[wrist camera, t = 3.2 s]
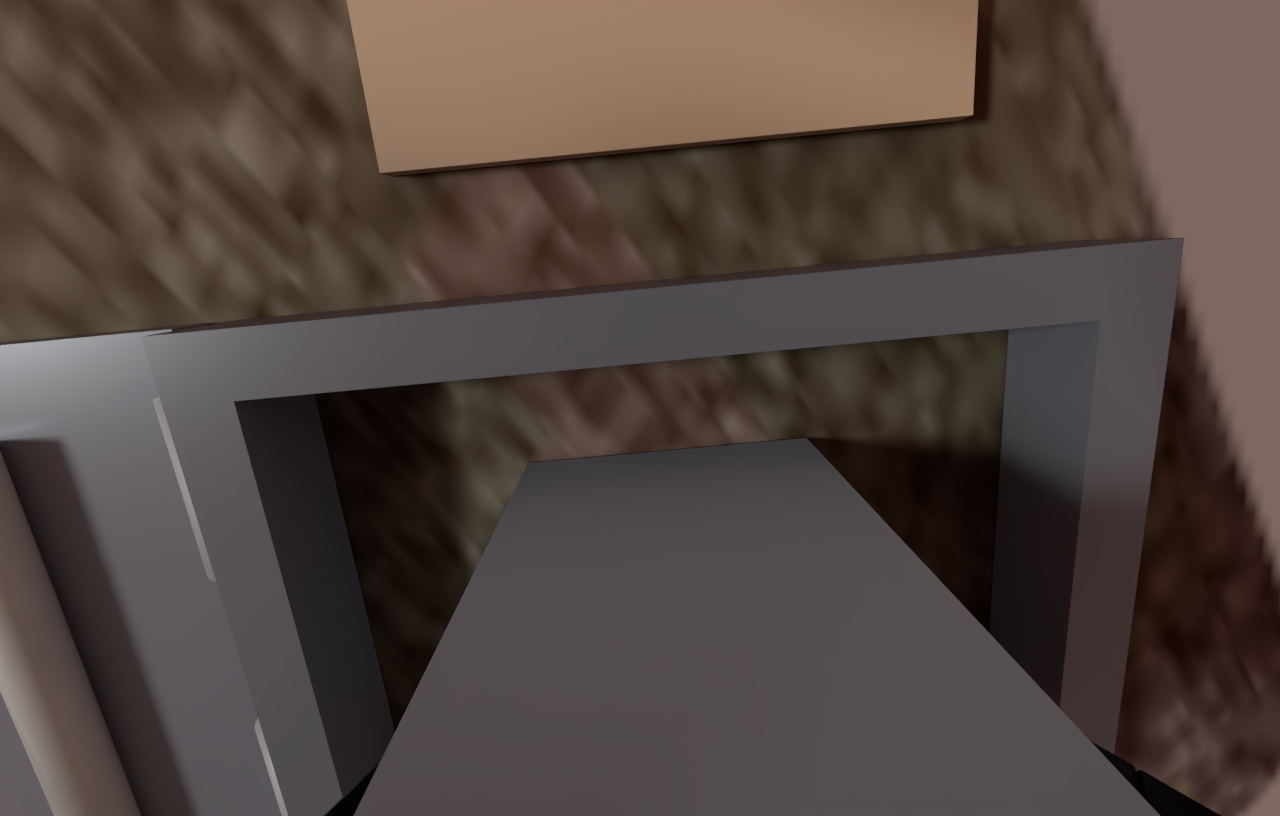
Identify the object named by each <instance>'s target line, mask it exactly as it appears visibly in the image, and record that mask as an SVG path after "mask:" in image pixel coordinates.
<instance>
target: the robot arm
mask: <svg viewBox="0 0 1280 816" xmlns="http://www.w3.org/2000/svg"><path fill="white" fill-rule="evenodd" d="M1091 742H1092V741H1091ZM1092 743H1093V744H1094V745H1095V747H1096V748H1097V749H1098V750H1099V751H1100V752H1101V753H1102V754H1103V755H1104V756H1105V757H1106V758H1107V759H1108V760H1109V762H1110V763H1111V764H1112V765H1113V766H1114V767H1115V768H1116V769H1117V770H1118V771H1119V772H1120V773H1121V774H1122V775H1123V776H1124V778H1125V779H1126V780H1127V781H1128V782H1129V783H1130V784H1131V785H1132V786H1133V787H1134V788H1135V789H1136V790H1137V791H1138V792H1139V794H1140V795H1141V796H1142V797H1143V798H1144V799H1145V800H1146V801H1147V802H1148V803H1149V804H1150V805H1151V806H1152V807H1153V808H1154V810H1155V811H1156V812H1157V813H1158V814H1159V815H1160V816H1221V815H1219V814H1217V813H1216V812H1214V811H1212V810H1210V809H1209V808H1207V807H1205V806H1203V805H1201V804H1200V803H1198V802H1196V801H1194V800H1193V799H1191V798H1189V797H1187V796H1185V795H1184V794H1182V793H1180V792H1178V791H1177V790H1175V789H1173V788H1171V787H1170V786H1168V785H1166V784H1165V783H1163V782H1161V781H1159V780H1158V779H1156V778H1154V777H1153V776H1151V775H1149V774H1147V773H1146V772H1144V771H1142V770H1138V771H1137V772H1136V769H1135V767H1134V766H1133V765H1132V764H1130V763H1128V762H1126V761H1125V760H1123V759H1121V758H1120V757H1118V756H1116V755H1114V754H1113V753H1111V752H1109V751H1108V750H1106V749H1104V748H1102V747H1101V746H1099V745H1097V744H1095V743H1094V742H1092ZM379 763H380V762H379ZM379 763H378V764H377V765H376V766H375V767H374V768H373V769H372V770H371V771H370V772H369V773H368V774H366V775H365V776H364V777H363V778H362V779H361V780H360V781H359V782H358V783H357V784H356V785H355V786H354V787H353V788H352V789H351V790H350V791H349V792H347V793H346V794H345V795H344V796H343V797H342V798H341V799H340V800H339V801H338V802H337V803H336V804H335V805H334V806H333V807H332V808H331V809H330V810H328V811H327V812H326V813H325V814H324V815H323V816H354V814H355V812H356V810H357V808H358V806H359V804H360V802H361V800H362V798H363V796H364V794H365V792H366V790H367V788H368V786H369V784H370V782H371V780H372V777H373V775H374V773H375V771H376V769H377V767H378V765H379Z"/></svg>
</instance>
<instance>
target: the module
mask: <svg viewBox="0 0 1280 816" xmlns="http://www.w3.org/2000/svg"><path fill="white" fill-rule="evenodd" d="M354 816H1160V815H1159V814H1158V813H1157V812H1156V811H1155V810H1154V808H1153V807H1152V806H1151V805H1150V804H1149V803H1148V802H1147V801H1146V800H1145V799H1144V798H1143V797H1142V796H1141V795H1140V794H1139V792H1138V791H1137V790H1136V789H1135V788H1134V787H1133V786H1132V785H1131V784H1130V783H1129V782H1128V781H1127V780H1126V779H1125V778H1124V776H1123V775H1122V774H1121V773H1120V772H1119V771H1118V770H1117V769H1116V768H1115V767H1114V766H1113V765H1112V764H1111V763H1110V762H1109V760H1108V759H1107V758H1106V757H1105V756H1104V755H1103V754H1102V753H1101V752H1100V751H1099V750H1098V749H1097V748H1096V747H1095V745H1094V744H1093V743H1092V742H1091V741H1090V740H1089V739H1088V738H1087V737H1086V736H1085V735H1084V734H1083V733H1082V732H1081V731H1080V729H1079V728H1078V727H1077V726H1076V725H1075V724H1074V723H1073V722H1072V721H1071V720H1070V719H1069V718H1068V717H1067V716H1066V715H1065V713H1064V712H1063V711H1062V710H1061V709H1060V708H1059V707H1058V706H1057V705H1056V704H1055V703H1054V702H1053V701H1052V700H1051V699H1050V697H1049V696H1048V695H1047V694H1046V693H1045V692H1044V691H1043V690H1042V689H1041V688H1040V687H1039V686H1038V685H1037V684H1036V682H1035V681H1034V680H1033V679H1032V678H1031V677H1030V676H1029V675H1028V674H1027V673H1026V672H1025V671H1024V670H1023V669H1022V668H1021V666H1020V665H1019V664H1018V663H1017V662H1016V661H1015V660H1014V659H1013V658H1012V657H1011V656H1010V655H1009V654H1008V653H1007V652H1006V650H1005V649H1004V648H1003V647H1002V646H1001V645H1000V644H999V643H998V642H997V641H996V640H995V639H994V638H993V637H992V636H991V634H990V633H989V632H988V631H987V630H986V629H985V628H984V627H983V626H982V625H981V624H980V623H979V622H978V621H977V619H976V618H975V617H974V616H973V615H972V614H971V613H970V612H969V611H968V610H967V609H966V608H965V607H964V606H963V605H962V603H961V602H960V601H959V600H958V599H957V598H956V597H955V596H954V595H953V594H952V593H951V592H950V591H949V590H948V589H947V587H946V586H945V585H944V584H943V583H942V582H941V581H940V580H939V579H938V578H937V577H936V576H935V575H934V574H933V573H932V571H931V570H930V569H929V568H928V567H927V566H926V565H925V564H924V563H923V562H922V561H921V560H920V559H919V558H918V556H917V555H916V554H915V553H914V552H913V551H912V550H911V549H910V548H909V547H908V546H907V545H906V544H905V543H904V542H903V540H902V539H901V538H900V537H899V536H898V535H897V534H896V533H895V532H894V531H893V530H892V529H891V528H890V527H889V526H888V524H887V523H886V522H885V521H884V520H883V519H882V518H881V517H880V516H879V515H878V514H877V513H876V512H875V511H874V510H873V508H872V507H871V506H870V505H869V504H868V503H867V502H866V501H865V500H864V499H863V498H862V497H861V496H860V495H859V493H858V492H857V491H856V490H855V489H854V488H853V487H852V486H851V485H850V484H849V483H848V482H847V481H846V480H845V479H844V477H843V476H842V475H841V474H840V473H839V472H838V471H837V470H836V469H835V468H834V467H833V466H832V465H831V464H830V463H829V461H828V460H827V459H826V458H825V457H824V456H823V455H822V454H821V453H820V452H819V451H818V450H817V449H816V448H815V447H814V445H813V444H812V443H811V442H810V441H809V440H808V439H807V438H800V439H788V440H777V441H766V442H755V443H744V444H733V445H722V446H711V447H700V448H689V449H678V450H667V451H656V452H645V453H634V454H623V455H612V456H601V457H590V458H579V459H568V460H557V461H546V462H535V463H528V465H527V467H526V469H525V471H524V473H523V475H522V477H521V479H520V481H519V483H518V485H517V487H516V489H515V491H514V493H513V495H512V497H511V499H510V501H509V503H508V505H507V507H506V509H505V511H504V513H503V515H502V517H501V519H500V521H499V523H498V525H497V527H496V529H495V531H494V533H493V535H492V537H491V539H490V541H489V543H488V545H487V547H486V549H485V551H484V553H483V555H482V558H481V560H480V562H479V564H478V566H477V568H476V570H475V572H474V574H473V576H472V578H471V580H470V582H469V584H468V586H467V588H466V590H465V592H464V594H463V596H462V598H461V600H460V602H459V604H458V606H457V608H456V610H455V612H454V614H453V616H452V618H451V620H450V622H449V624H448V626H447V628H446V630H445V632H444V634H443V636H442V638H441V640H440V642H439V644H438V646H437V648H436V650H435V652H434V654H433V656H432V658H431V660H430V662H429V664H428V666H427V669H426V671H425V673H424V675H423V677H422V679H421V681H420V683H419V685H418V687H417V689H416V691H415V693H414V695H413V697H412V699H411V701H410V703H409V705H408V707H407V709H406V711H405V713H404V715H403V717H402V719H401V721H400V723H399V725H398V727H397V729H396V731H395V733H394V735H393V737H392V739H391V741H390V743H389V745H388V747H387V749H386V751H385V753H384V755H383V757H382V759H381V761H380V763H379V765H378V767H377V769H376V771H375V773H374V775H373V777H372V780H371V782H370V784H369V786H368V788H367V790H366V792H365V794H364V796H363V798H362V800H361V802H360V804H359V806H358V808H357V810H356V812H355V814H354Z"/></svg>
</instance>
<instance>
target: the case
mask: <svg viewBox="0 0 1280 816" xmlns="http://www.w3.org/2000/svg"><path fill="white" fill-rule="evenodd" d="M1183 242H1184V238H1156V239H1118V240H1081V241H1066V242H1056V243H1045V244H1035V245H1024V246H1013V247H1003V248H992V249H982V250H971V251H961V252H950V253H940V254H929V255H919V256H908V257H898V258H887V259H877V260H866V261H856V262H845V263H835V264H824V265H813V266H803V267H792V268H782V269H771V270H761V271H750V272H740V273H729V274H719V275H708V276H698V277H687V278H677V279H666V280H656V281H645V282H634V283H624V284H613V285H603V286H592V287H582V288H571V289H561V290H550V291H540V292H529V293H519V294H508V295H498V296H487V297H477V298H466V299H455V300H445V301H434V302H424V303H413V304H403V305H392V306H382V307H371V308H361V309H350V310H340V311H329V312H319V313H308V314H298V315H287V316H276V317H266V318H255V319H245V320H235V321H230V322H224V323H218V324H212V325H208V324H207V323H203V324H192V325H182V326H171V327H161V328H150V329H140V330H129V331H119V332H108V333H97V334H87V335H76V336H66V337H55V338H45V339H34V340H24V341H13V342H3V343H0V816H323V815H324V814H325V813H326V812H327V811H328V810H330V809H331V808H332V807H333V806H334V805H335V804H336V803H337V802H338V801H339V800H340V799H341V798H342V797H343V796H344V795H345V794H346V793H347V792H349V791H350V790H351V789H352V788H353V787H354V786H355V785H356V784H357V783H358V782H359V781H360V780H361V779H362V778H363V777H364V776H365V775H366V774H368V773H369V772H370V771H371V770H372V769H373V768H374V767H375V766H376V765H377V764H378V763H379V762H380V761H381V759H382V757H383V755H384V753H385V751H386V749H387V747H388V745H389V743H390V741H391V739H392V737H393V735H394V733H395V730H394V725H393V721H392V717H391V713H390V709H389V704H388V700H387V696H386V692H385V688H384V684H383V679H382V675H381V671H380V667H379V663H378V658H377V654H376V650H375V646H374V642H373V637H372V633H371V629H370V625H369V621H368V616H367V612H366V608H365V604H364V600H363V595H362V591H361V587H360V583H359V579H358V574H357V570H356V566H355V562H354V558H353V554H352V549H351V545H350V541H349V537H348V533H347V528H346V524H345V520H344V516H343V512H342V507H341V503H340V499H339V495H338V491H337V486H336V482H335V478H334V474H333V470H332V465H331V461H330V457H329V453H328V449H327V444H326V440H325V436H324V432H323V428H322V424H321V419H320V415H319V411H318V407H317V403H316V398H315V394H317V393H328V392H339V391H350V390H360V389H371V388H382V387H392V386H403V385H414V384H425V383H435V382H446V381H457V380H467V379H478V378H489V377H500V376H510V375H521V374H532V373H542V372H553V371H564V370H575V369H585V368H596V367H607V366H617V365H628V364H639V363H650V362H660V361H671V360H682V359H692V358H703V357H714V356H725V355H735V354H746V353H757V352H767V351H778V350H789V349H800V348H810V347H821V346H832V345H842V344H853V343H864V342H875V341H885V340H896V339H907V338H917V337H928V336H939V335H950V334H960V333H971V332H982V331H992V330H1003V329H1009V334H1008V349H1007V364H1006V380H1005V395H1004V410H1003V425H1002V440H1001V456H1000V471H999V486H998V501H997V517H996V532H995V547H994V562H993V577H992V593H991V608H990V623H989V633H990V634H991V636H992V637H993V638H994V639H995V640H996V641H997V642H998V643H999V644H1000V645H1001V646H1002V647H1003V648H1004V649H1005V650H1006V652H1007V653H1008V654H1009V655H1010V656H1011V657H1012V658H1013V659H1014V660H1015V661H1016V662H1017V663H1018V664H1019V665H1020V666H1021V668H1022V669H1023V670H1024V671H1025V672H1026V673H1027V674H1028V675H1029V676H1030V677H1031V678H1032V679H1033V680H1034V681H1035V682H1036V684H1037V685H1038V686H1039V687H1040V688H1041V689H1042V690H1043V691H1044V692H1045V693H1046V694H1047V695H1048V696H1049V697H1050V699H1051V700H1052V701H1053V702H1054V703H1055V704H1056V705H1057V706H1058V707H1059V708H1060V709H1061V710H1062V711H1063V712H1064V713H1065V715H1066V716H1067V717H1068V718H1069V719H1070V720H1071V721H1072V722H1073V723H1074V724H1075V725H1076V726H1077V727H1078V728H1079V729H1080V731H1081V732H1082V733H1083V734H1084V735H1085V736H1086V737H1087V738H1088V739H1089V740H1090V741H1092V742H1094V743H1095V744H1097V745H1099V746H1101V747H1102V748H1104V749H1106V750H1108V751H1109V752H1111V753H1113V754H1114V751H1115V744H1116V736H1117V729H1118V722H1119V714H1120V707H1121V700H1122V692H1123V685H1124V677H1125V670H1126V663H1127V655H1128V648H1129V640H1130V633H1131V626H1132V618H1133V611H1134V604H1135V596H1136V589H1137V581H1138V574H1139V567H1140V559H1141V552H1142V544H1143V537H1144V530H1145V522H1146V515H1147V508H1148V500H1149V493H1150V485H1151V478H1152V471H1153V463H1154V456H1155V449H1156V441H1157V434H1158V426H1159V419H1160V412H1161V404H1162V397H1163V389H1164V382H1165V375H1166V367H1167V360H1168V353H1169V345H1170V338H1171V330H1172V323H1173V316H1174V308H1175V301H1176V294H1177V286H1178V279H1179V271H1180V264H1181V257H1182V249H1183Z"/></svg>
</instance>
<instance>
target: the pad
mask: <svg viewBox="0 0 1280 816" xmlns="http://www.w3.org/2000/svg"><path fill="white" fill-rule="evenodd" d="M347 5H348V10H349V15H350V20H351V26H352V31H353V36H354V41H355V46H356V52H357V57H358V62H359V67H360V73H361V78H362V83H363V88H364V94H365V99H366V104H367V109H368V115H369V120H370V125H371V130H372V135H373V141H374V146H375V151H376V156H377V162H378V167H379V172H380V173H381V174H384V175H387V176H399V175H409V174H419V173H430V172H440V171H450V170H460V169H471V168H481V167H491V166H501V165H512V164H522V163H532V162H542V161H553V160H563V159H573V158H583V157H594V156H604V155H614V154H624V153H635V152H645V151H655V150H665V149H675V148H686V147H696V146H706V145H716V144H727V143H737V142H747V141H757V140H768V139H778V138H788V137H798V136H809V135H819V134H829V133H839V132H850V131H860V130H870V129H880V128H891V127H901V126H911V125H921V124H932V123H942V122H952V121H960V120H962V119H965V118H967V117H970V116H972V115H973V105H974V84H975V62H976V40H977V19H978V0H347Z"/></svg>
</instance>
